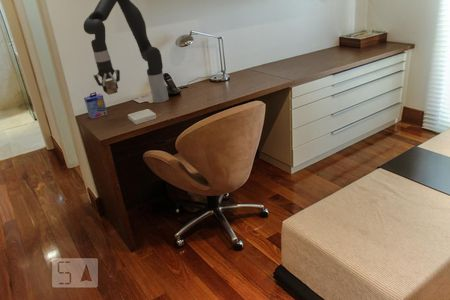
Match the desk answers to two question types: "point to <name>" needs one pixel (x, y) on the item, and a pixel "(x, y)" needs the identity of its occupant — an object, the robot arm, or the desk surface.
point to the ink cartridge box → (95, 105)
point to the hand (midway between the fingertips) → (111, 90)
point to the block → (111, 87)
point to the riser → (142, 116)
